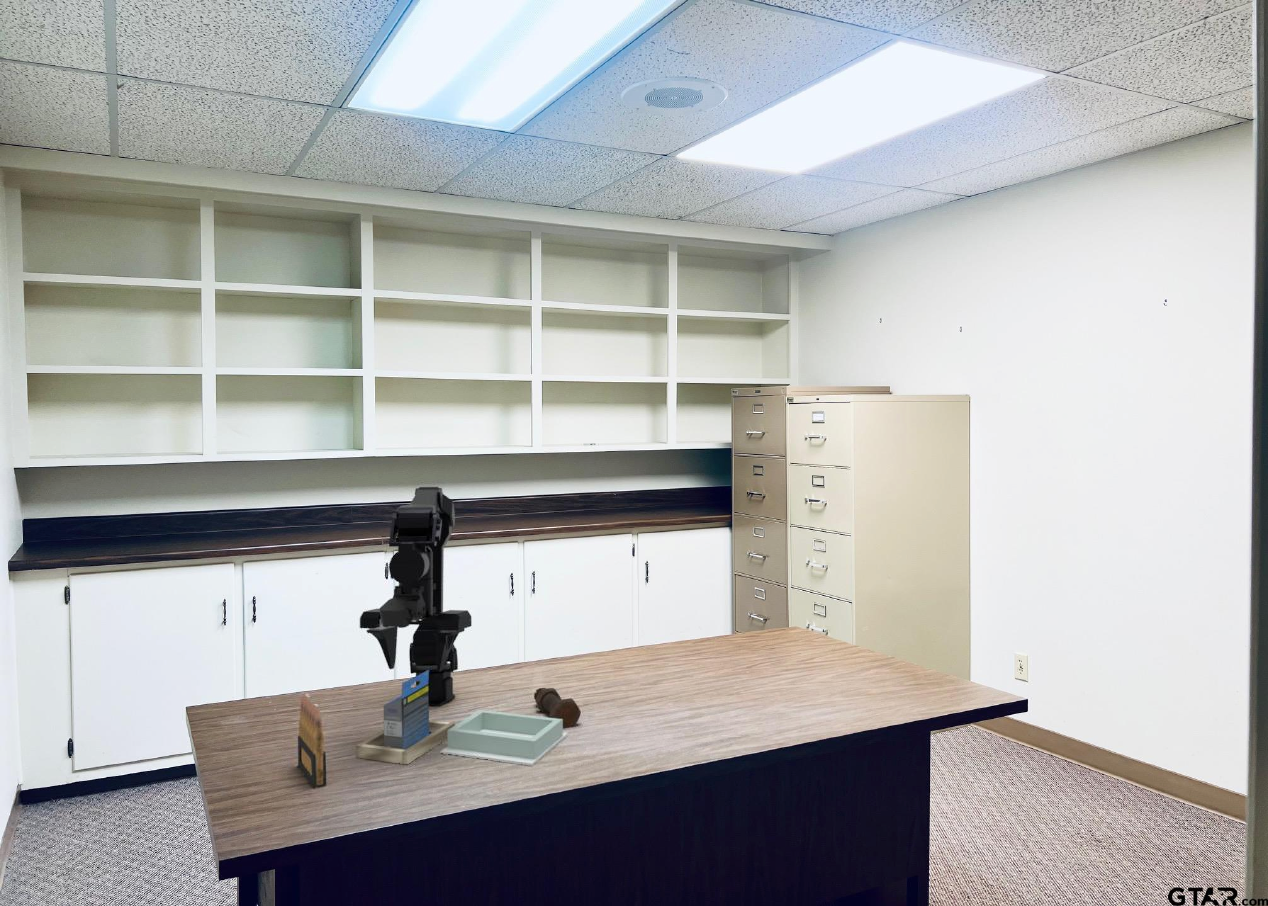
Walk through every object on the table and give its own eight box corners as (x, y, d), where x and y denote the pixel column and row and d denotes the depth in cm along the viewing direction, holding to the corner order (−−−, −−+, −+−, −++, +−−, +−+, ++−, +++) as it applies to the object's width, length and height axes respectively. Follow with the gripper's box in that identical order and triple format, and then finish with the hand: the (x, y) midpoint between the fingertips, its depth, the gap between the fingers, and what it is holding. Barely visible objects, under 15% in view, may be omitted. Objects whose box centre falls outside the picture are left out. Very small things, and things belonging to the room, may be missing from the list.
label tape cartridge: (410, 735, 157) (410, 667, 156) (430, 738, 155) (429, 669, 155) (382, 753, 148) (382, 681, 148) (403, 756, 147) (402, 683, 147)
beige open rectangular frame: (355, 757, 146) (355, 745, 146) (406, 728, 160) (406, 717, 160) (407, 764, 143) (407, 752, 143) (454, 734, 157) (454, 723, 157)
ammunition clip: (297, 766, 143) (296, 693, 142) (309, 763, 144) (308, 691, 143) (314, 788, 134) (312, 710, 134) (326, 785, 135) (325, 708, 135)
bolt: (545, 713, 174) (571, 735, 161) (523, 703, 173) (548, 725, 159) (558, 686, 176) (585, 705, 162) (537, 676, 174) (562, 695, 160)
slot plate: (440, 753, 148) (440, 733, 148) (483, 724, 162) (483, 706, 162) (531, 766, 142) (531, 745, 142) (568, 735, 157) (568, 716, 156)
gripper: (341, 582, 147) (340, 677, 146) (443, 584, 142) (443, 681, 141) (377, 576, 157) (376, 664, 157) (472, 578, 153) (472, 668, 152)
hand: (415, 669), depth 151 cm, fingers open, 9 cm apart
